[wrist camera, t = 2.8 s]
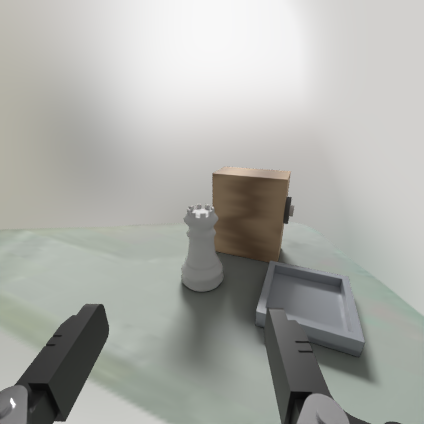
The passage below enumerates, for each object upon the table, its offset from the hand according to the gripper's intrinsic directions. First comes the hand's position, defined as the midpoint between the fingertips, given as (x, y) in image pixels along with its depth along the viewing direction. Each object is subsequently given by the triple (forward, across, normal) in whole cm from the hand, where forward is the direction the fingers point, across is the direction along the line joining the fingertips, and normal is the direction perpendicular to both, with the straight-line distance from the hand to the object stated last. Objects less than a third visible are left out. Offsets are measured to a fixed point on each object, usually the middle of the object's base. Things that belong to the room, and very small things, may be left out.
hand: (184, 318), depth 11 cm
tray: (+8, -9, +6) cm, 14 cm away
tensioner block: (+17, -5, +6) cm, 19 cm away
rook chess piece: (+11, 0, +7) cm, 13 cm away
